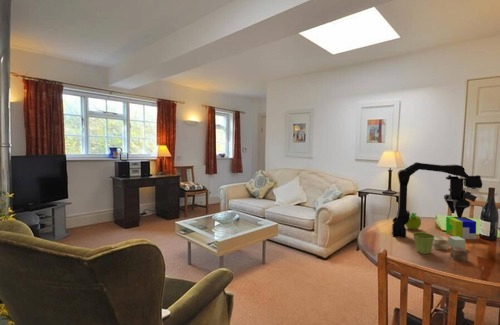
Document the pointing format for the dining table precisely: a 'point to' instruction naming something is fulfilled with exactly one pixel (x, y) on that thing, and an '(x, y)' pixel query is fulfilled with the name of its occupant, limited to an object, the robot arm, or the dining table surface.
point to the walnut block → (459, 254)
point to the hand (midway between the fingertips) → (456, 215)
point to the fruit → (413, 222)
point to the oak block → (440, 243)
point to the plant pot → (423, 242)
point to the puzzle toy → (461, 227)
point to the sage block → (456, 241)
